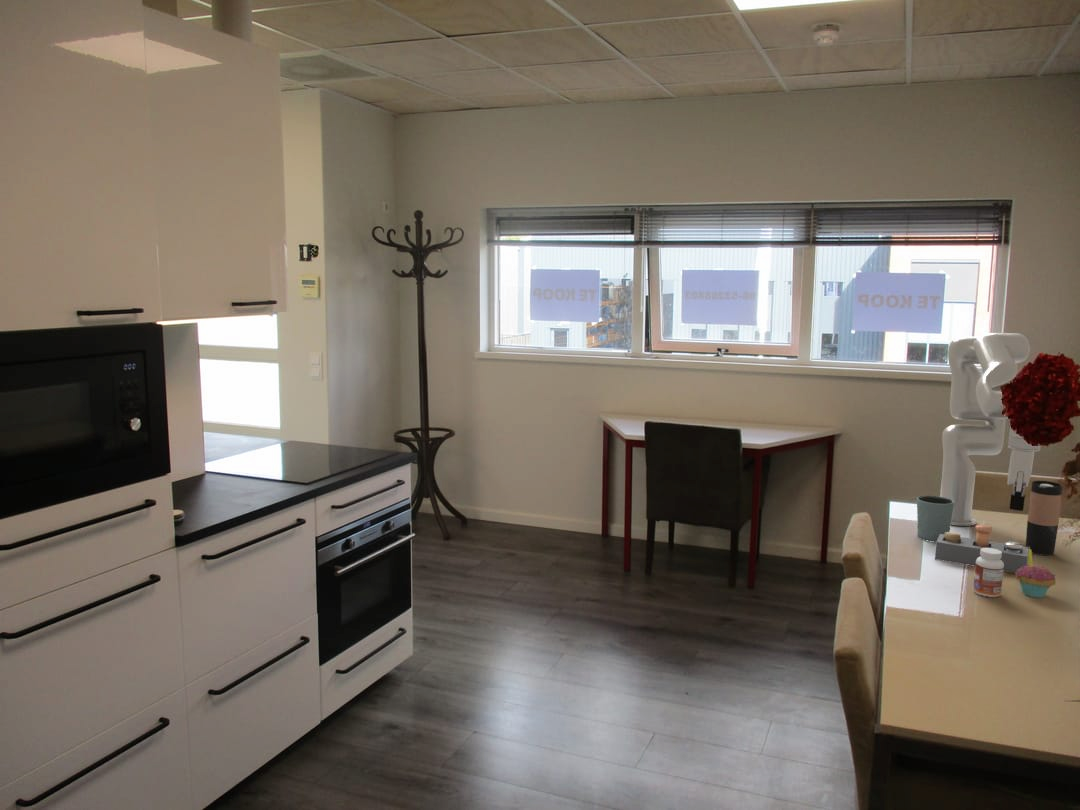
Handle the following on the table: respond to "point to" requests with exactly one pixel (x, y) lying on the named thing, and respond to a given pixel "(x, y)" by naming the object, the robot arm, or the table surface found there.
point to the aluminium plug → (1013, 546)
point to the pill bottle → (988, 573)
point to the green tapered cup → (933, 516)
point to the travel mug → (1043, 517)
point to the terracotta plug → (983, 535)
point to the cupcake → (1034, 579)
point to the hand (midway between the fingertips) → (1016, 509)
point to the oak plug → (952, 537)
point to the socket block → (977, 553)
